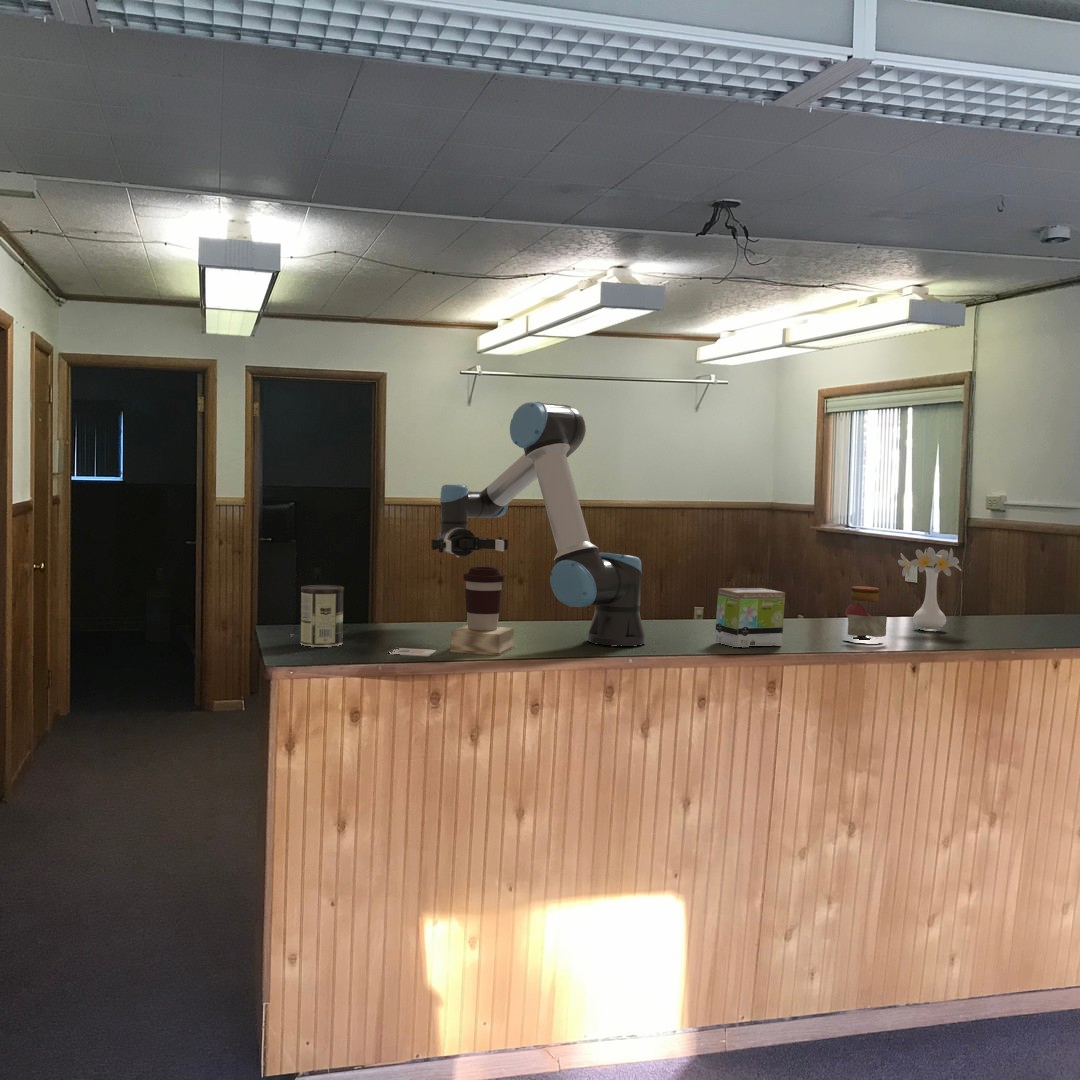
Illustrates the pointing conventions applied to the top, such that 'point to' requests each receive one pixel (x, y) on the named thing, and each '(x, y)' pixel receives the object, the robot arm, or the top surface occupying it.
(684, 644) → the top surface
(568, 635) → the top surface
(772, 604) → the tea box
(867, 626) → the brown red grey stack
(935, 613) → the flower vase
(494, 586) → the coffee cup
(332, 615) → the coffee can
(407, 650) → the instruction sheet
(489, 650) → the tan flat block
